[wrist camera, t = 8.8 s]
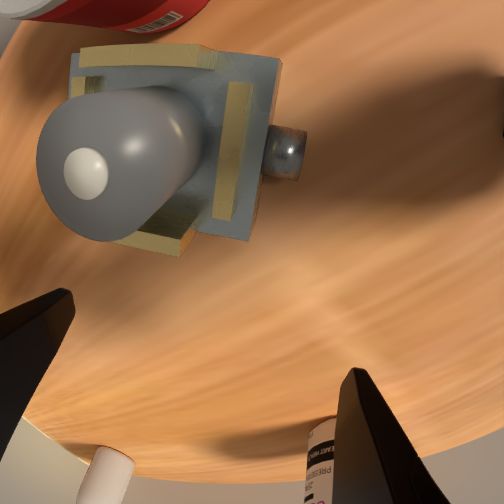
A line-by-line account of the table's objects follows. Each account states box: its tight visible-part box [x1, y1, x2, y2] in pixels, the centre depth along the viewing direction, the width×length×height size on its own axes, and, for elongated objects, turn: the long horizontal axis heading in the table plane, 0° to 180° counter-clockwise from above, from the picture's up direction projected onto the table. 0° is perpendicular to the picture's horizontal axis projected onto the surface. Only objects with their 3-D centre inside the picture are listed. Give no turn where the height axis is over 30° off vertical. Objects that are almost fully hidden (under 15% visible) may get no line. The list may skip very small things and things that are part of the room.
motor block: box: [68, 43, 307, 257], centre depth 16 cm, size 14×10×6 cm
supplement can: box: [304, 417, 337, 504], centre depth 25 cm, size 8×8×15 cm
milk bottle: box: [76, 446, 135, 504], centre depth 39 cm, size 8×8×20 cm
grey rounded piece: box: [36, 86, 206, 242], centre depth 13 cm, size 6×6×6 cm
